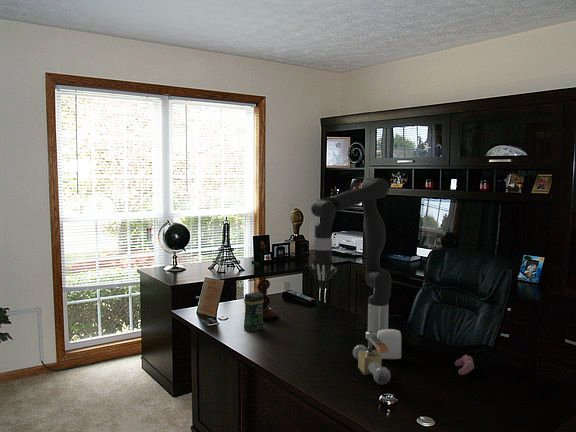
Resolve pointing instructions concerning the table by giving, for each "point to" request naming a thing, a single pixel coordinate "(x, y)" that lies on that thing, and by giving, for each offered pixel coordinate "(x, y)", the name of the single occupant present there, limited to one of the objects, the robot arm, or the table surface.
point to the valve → (371, 363)
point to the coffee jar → (253, 311)
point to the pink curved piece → (465, 364)
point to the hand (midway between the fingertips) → (322, 288)
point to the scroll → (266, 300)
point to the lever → (376, 342)
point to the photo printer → (390, 343)
